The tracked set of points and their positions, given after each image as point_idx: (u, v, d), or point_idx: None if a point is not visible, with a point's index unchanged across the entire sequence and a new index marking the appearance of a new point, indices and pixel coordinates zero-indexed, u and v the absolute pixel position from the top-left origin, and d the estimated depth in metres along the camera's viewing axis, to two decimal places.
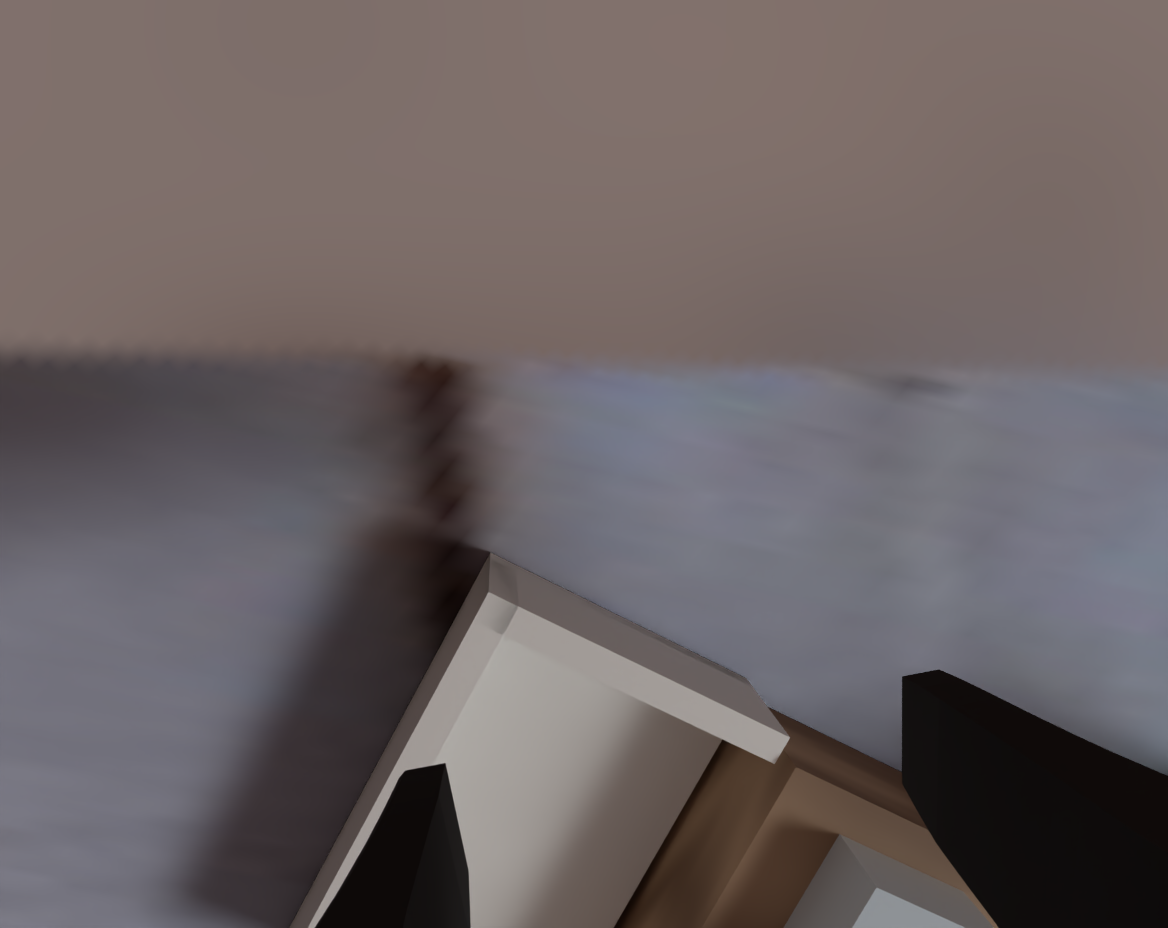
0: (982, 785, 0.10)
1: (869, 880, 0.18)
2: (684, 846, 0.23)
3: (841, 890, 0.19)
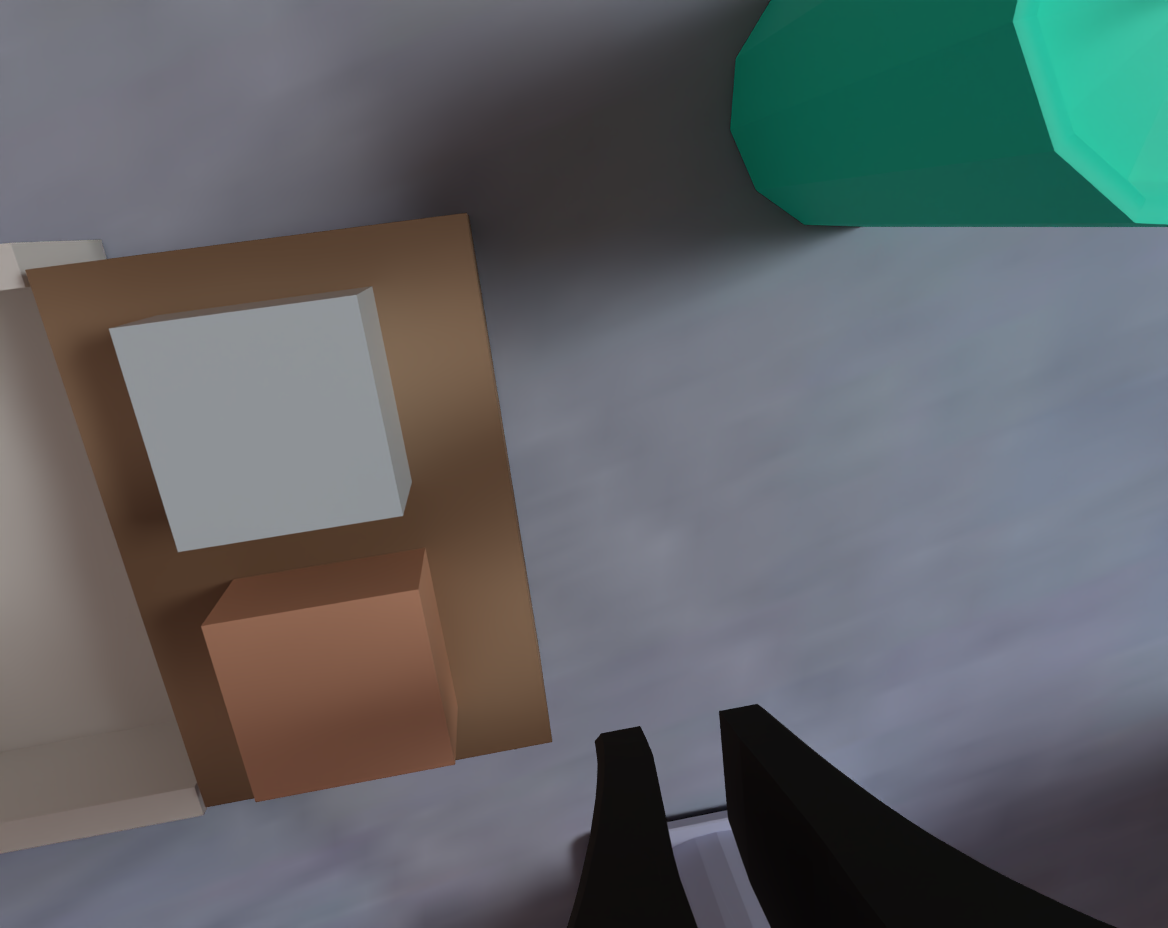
0: (771, 828, 0.10)
1: None
2: None
3: None
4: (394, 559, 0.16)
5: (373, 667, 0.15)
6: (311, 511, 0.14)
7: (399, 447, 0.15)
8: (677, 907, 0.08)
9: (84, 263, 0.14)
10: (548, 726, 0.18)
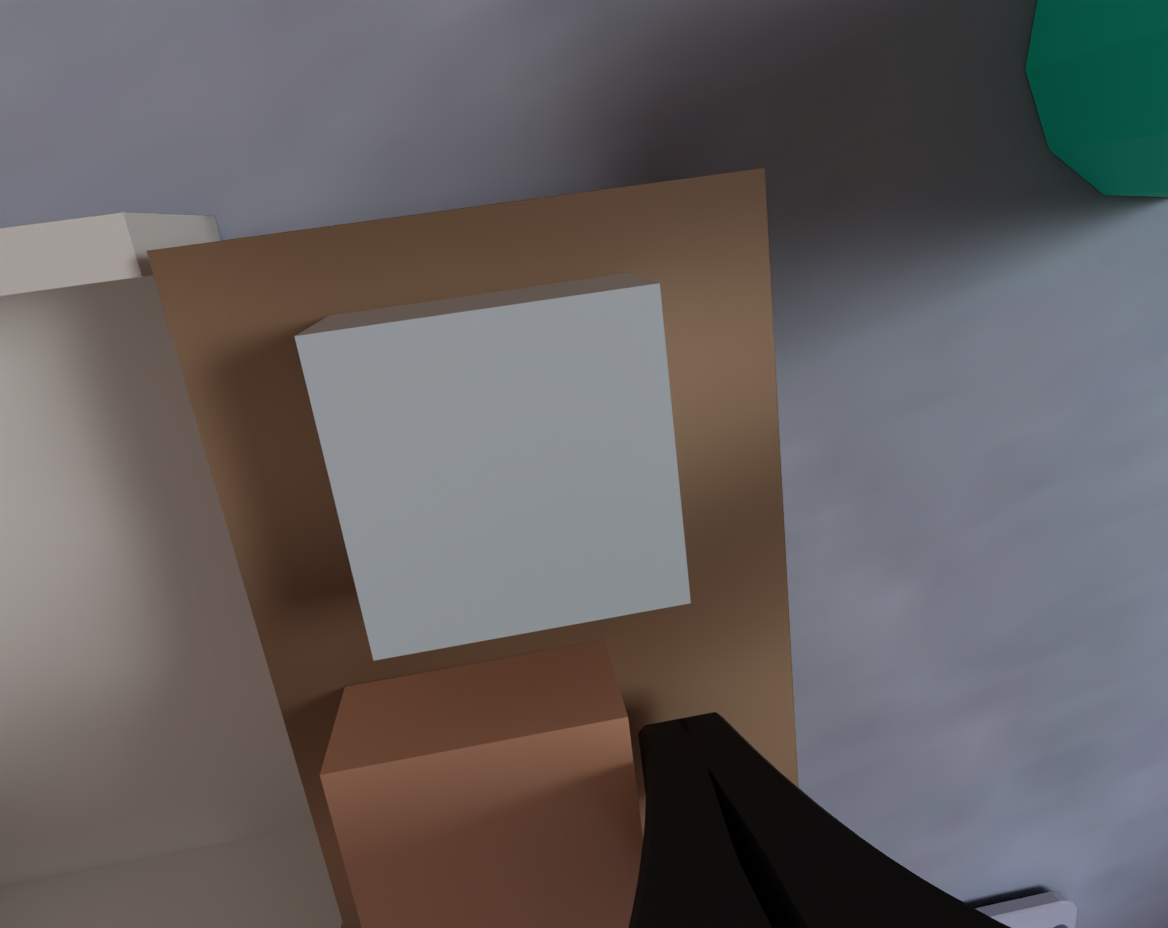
0: None
1: None
2: None
3: None
4: (568, 659, 0.12)
5: (558, 823, 0.11)
6: (565, 599, 0.10)
7: None
8: (741, 893, 0.08)
9: (230, 241, 0.10)
10: None
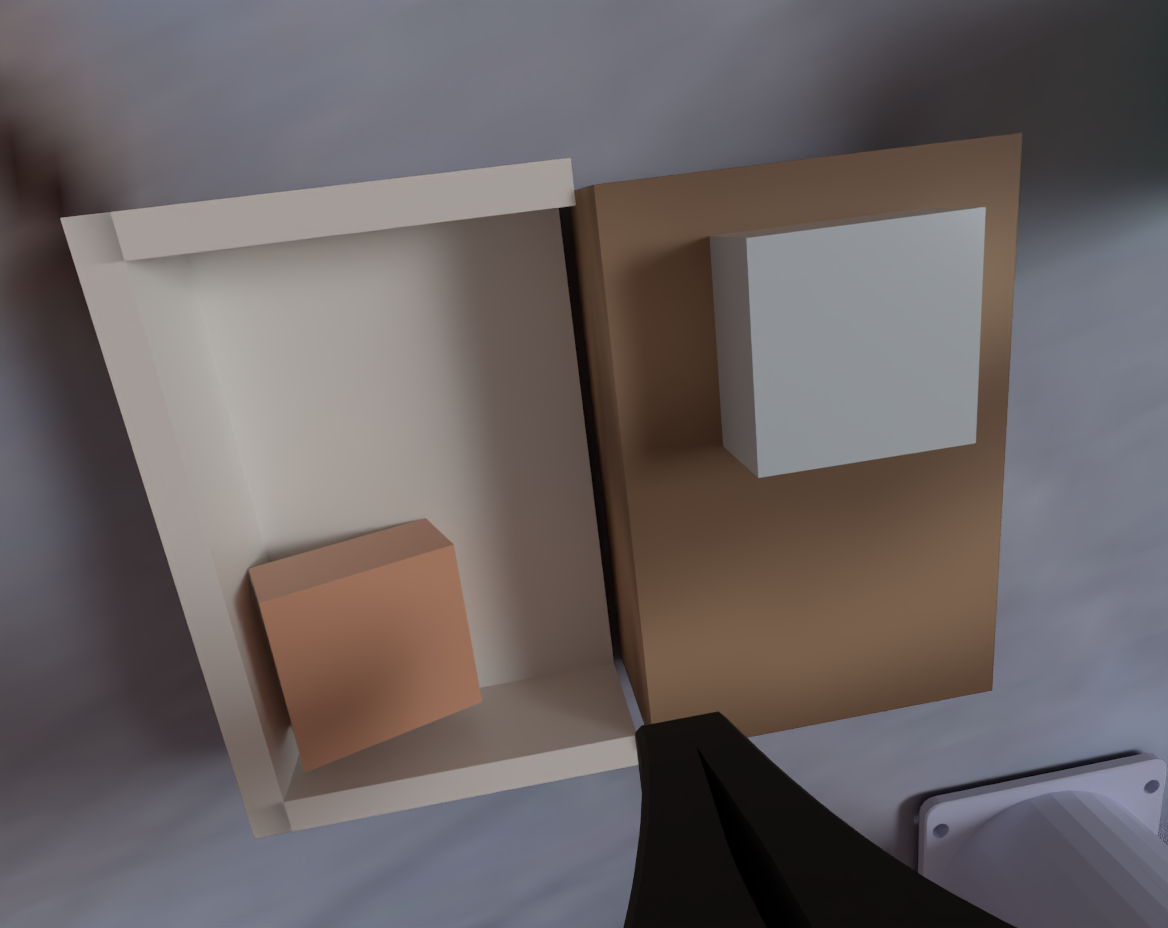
0: (725, 837, 0.10)
1: (740, 240, 0.12)
2: (598, 398, 0.17)
3: (730, 287, 0.13)
4: (288, 586, 0.16)
5: None
6: (892, 436, 0.14)
7: None
8: (736, 894, 0.08)
9: (650, 179, 0.14)
10: (991, 674, 0.18)
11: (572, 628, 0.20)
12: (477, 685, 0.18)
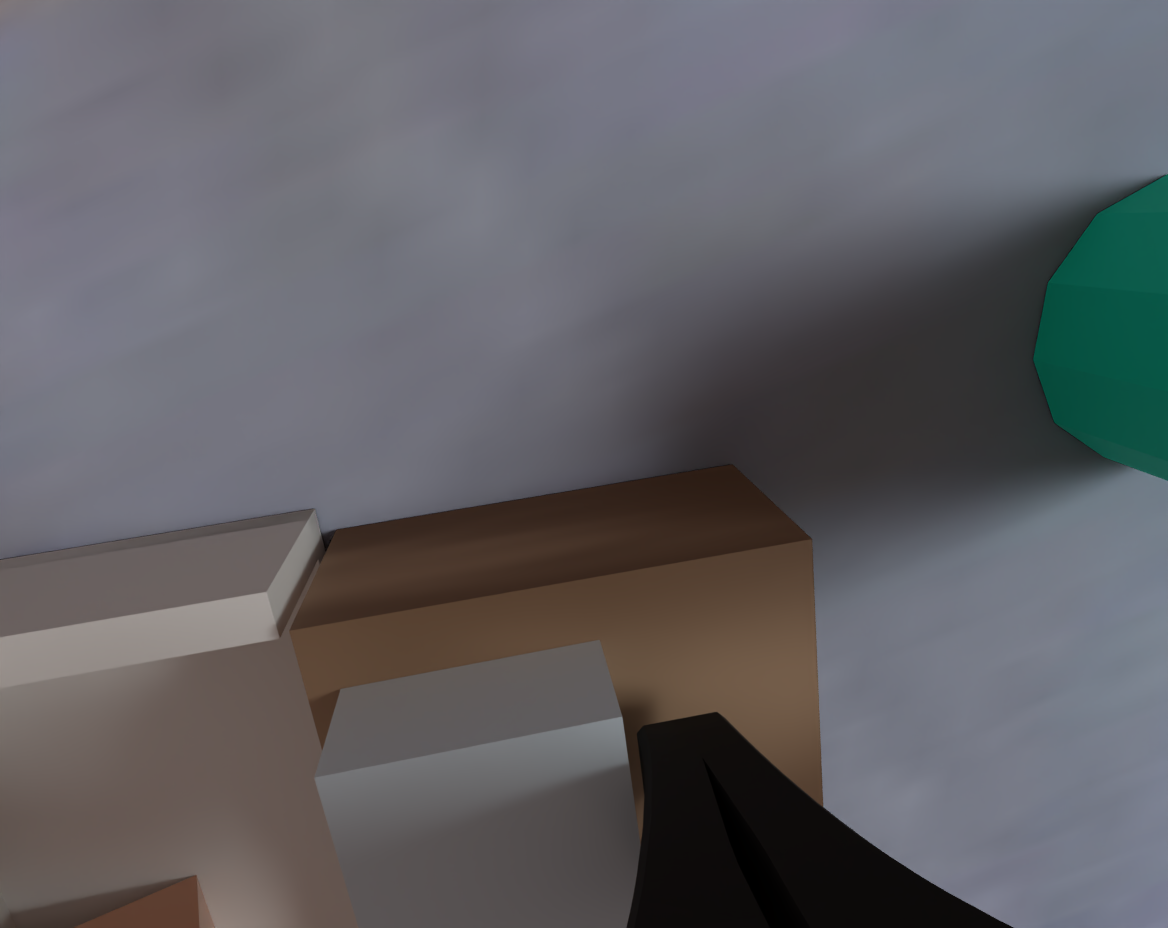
0: None
1: (319, 765, 0.10)
2: None
3: None
4: None
5: None
6: None
7: None
8: (739, 894, 0.08)
9: (359, 619, 0.12)
10: None
11: None
12: None
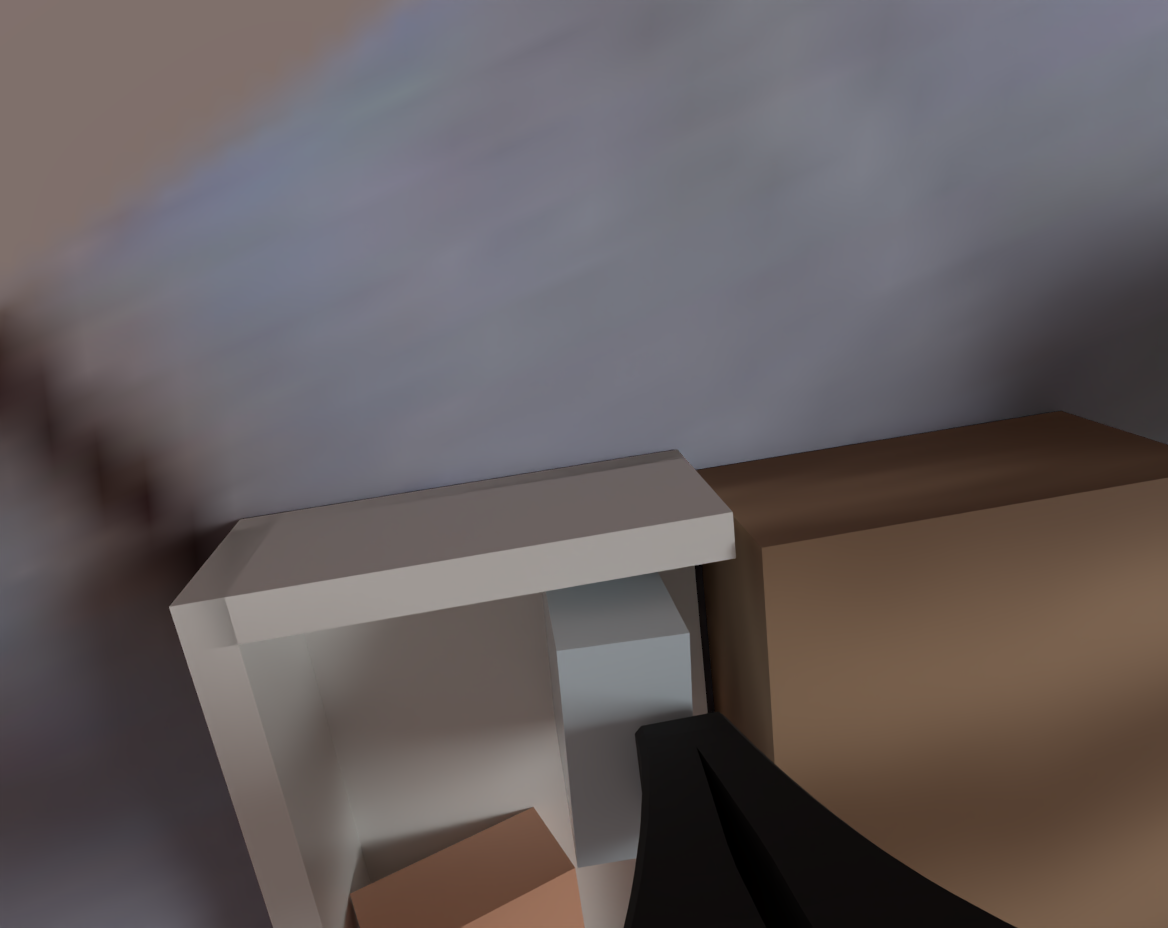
0: (725, 837, 0.10)
1: None
2: (727, 692, 0.16)
3: None
4: None
5: None
6: (565, 783, 0.14)
7: None
8: (736, 895, 0.08)
9: (824, 537, 0.12)
10: None
11: None
12: None
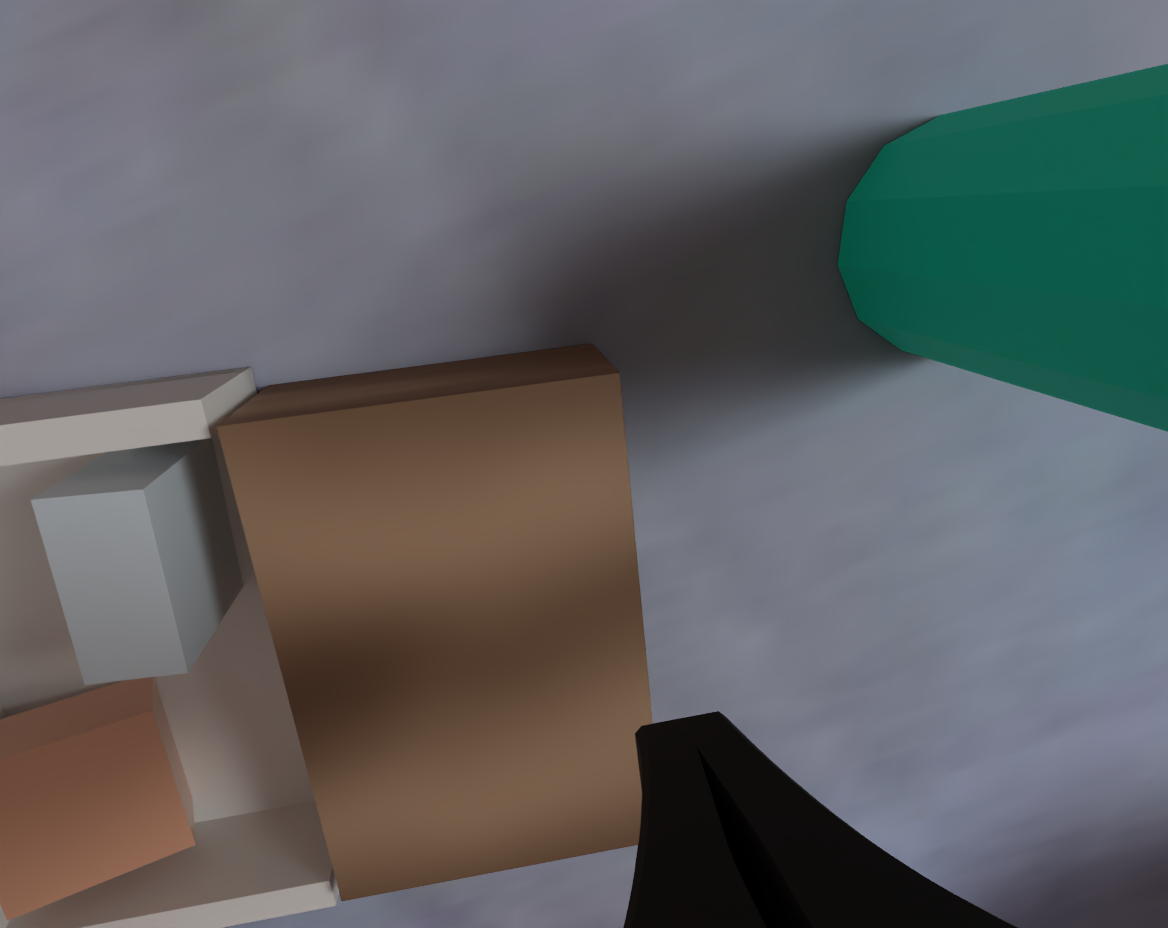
0: (725, 837, 0.10)
1: None
2: None
3: None
4: None
5: None
6: None
7: (137, 635, 0.16)
8: (736, 895, 0.08)
9: (270, 420, 0.15)
10: None
11: (304, 765, 0.21)
12: (191, 830, 0.20)
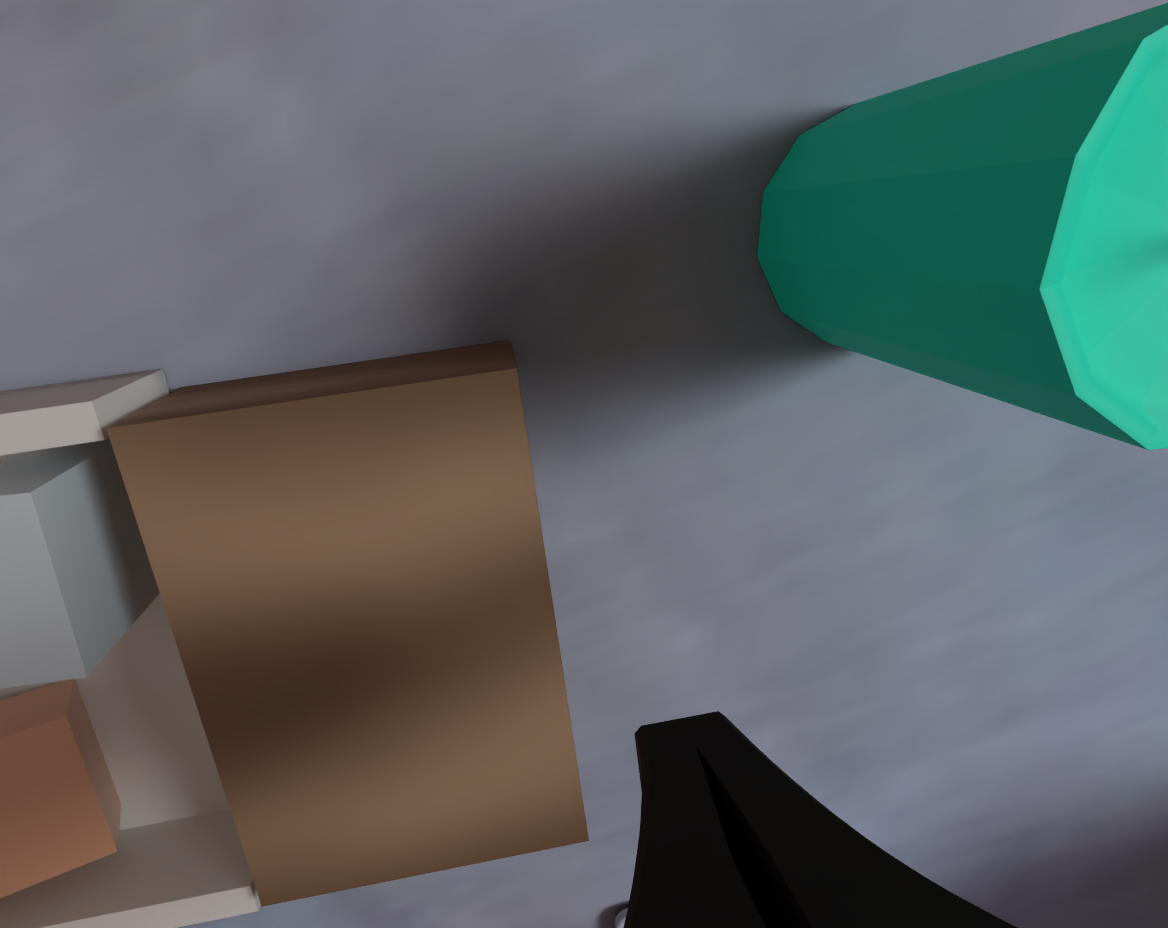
0: (725, 837, 0.10)
1: None
2: None
3: None
4: None
5: None
6: None
7: (32, 640, 0.15)
8: (736, 894, 0.08)
9: (161, 421, 0.15)
10: (585, 826, 0.19)
11: None
12: (113, 836, 0.20)
